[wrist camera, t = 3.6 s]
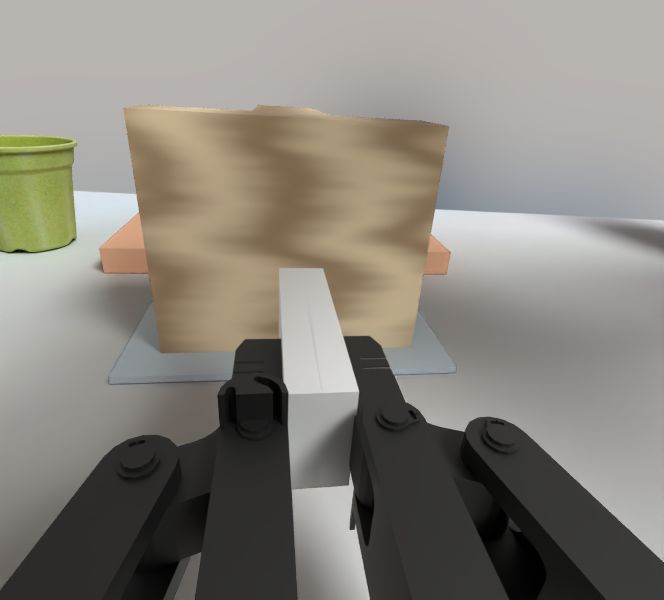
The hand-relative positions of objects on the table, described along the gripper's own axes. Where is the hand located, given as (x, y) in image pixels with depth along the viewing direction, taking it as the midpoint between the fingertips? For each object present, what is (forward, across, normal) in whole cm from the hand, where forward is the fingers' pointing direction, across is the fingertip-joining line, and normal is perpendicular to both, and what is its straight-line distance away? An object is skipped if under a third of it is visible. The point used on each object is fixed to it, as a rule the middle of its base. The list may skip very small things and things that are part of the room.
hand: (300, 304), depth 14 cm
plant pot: (+26, -22, -7) cm, 34 cm away
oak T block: (+14, 0, -6) cm, 15 cm away
